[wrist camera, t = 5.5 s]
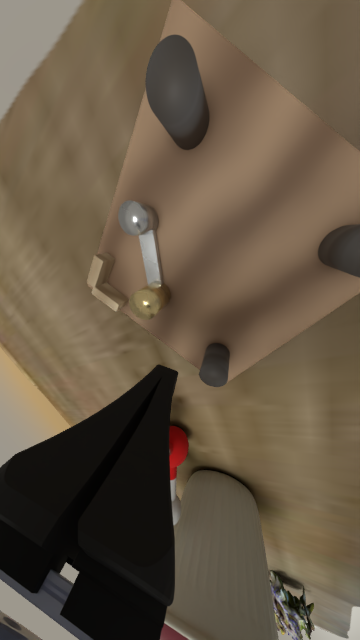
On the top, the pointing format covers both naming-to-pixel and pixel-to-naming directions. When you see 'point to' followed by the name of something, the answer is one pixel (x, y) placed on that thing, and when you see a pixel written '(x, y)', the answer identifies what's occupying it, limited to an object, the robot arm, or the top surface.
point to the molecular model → (177, 456)
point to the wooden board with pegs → (231, 205)
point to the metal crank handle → (145, 258)
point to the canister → (219, 565)
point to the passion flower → (290, 610)
